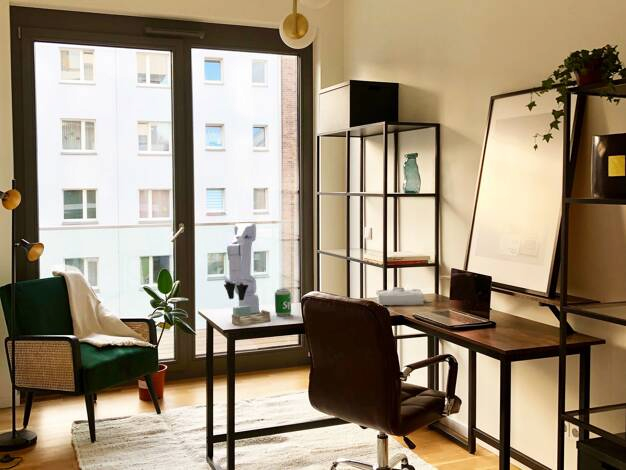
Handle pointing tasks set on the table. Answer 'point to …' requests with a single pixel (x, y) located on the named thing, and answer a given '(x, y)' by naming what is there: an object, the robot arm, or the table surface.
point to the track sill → (251, 318)
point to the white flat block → (400, 297)
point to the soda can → (283, 302)
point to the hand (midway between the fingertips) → (236, 299)
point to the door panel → (242, 311)
